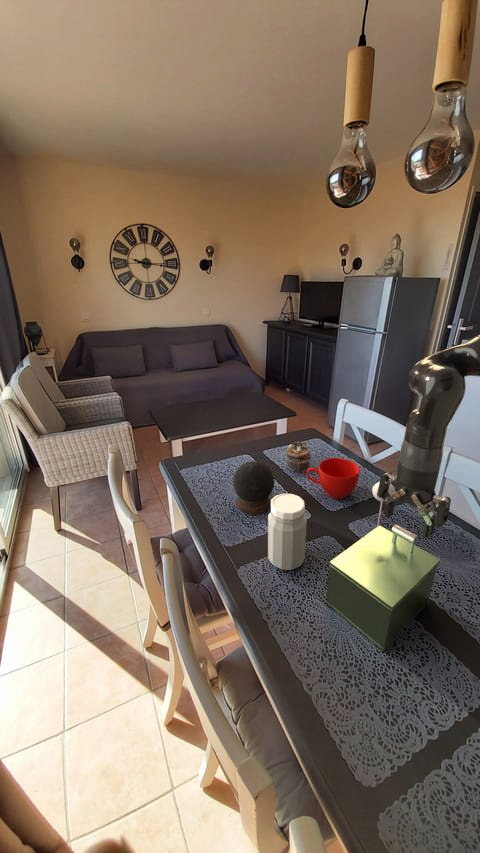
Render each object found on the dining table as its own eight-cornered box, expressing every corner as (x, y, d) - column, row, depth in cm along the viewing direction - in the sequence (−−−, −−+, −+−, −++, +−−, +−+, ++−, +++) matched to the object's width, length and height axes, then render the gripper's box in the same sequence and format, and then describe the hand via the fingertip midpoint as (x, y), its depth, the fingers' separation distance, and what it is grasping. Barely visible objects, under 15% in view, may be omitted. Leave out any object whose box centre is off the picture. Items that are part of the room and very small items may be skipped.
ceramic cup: (306, 480, 130) (307, 455, 126) (355, 484, 127) (358, 459, 122) (304, 501, 118) (305, 475, 114) (358, 506, 115) (361, 479, 111)
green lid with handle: (379, 527, 88) (381, 510, 86) (439, 562, 77) (444, 543, 75) (329, 564, 78) (331, 545, 76) (391, 610, 67) (395, 589, 65)
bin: (370, 566, 92) (376, 529, 87) (427, 604, 82) (437, 564, 77) (325, 603, 83) (329, 564, 78) (383, 652, 72) (391, 610, 67)
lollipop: (393, 527, 105) (401, 484, 99) (380, 535, 102) (388, 491, 96) (375, 516, 110) (382, 474, 104) (363, 524, 107) (368, 481, 101)
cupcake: (280, 469, 137) (281, 445, 133) (292, 458, 145) (293, 436, 141) (303, 476, 132) (305, 452, 128) (314, 464, 140) (316, 441, 135)
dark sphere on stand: (244, 521, 110) (242, 479, 104) (227, 498, 121) (225, 459, 115) (281, 509, 115) (282, 468, 109) (262, 488, 126) (262, 450, 120)
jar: (300, 577, 90) (303, 518, 82) (262, 567, 93) (262, 510, 86) (307, 550, 98) (311, 495, 91) (273, 542, 101) (273, 488, 94)
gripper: (465, 468, 69) (447, 535, 76) (396, 443, 79) (386, 504, 86) (447, 482, 65) (430, 552, 71) (376, 453, 75) (367, 516, 82)
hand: (406, 525), depth 79 cm, fingers open, 8 cm apart
